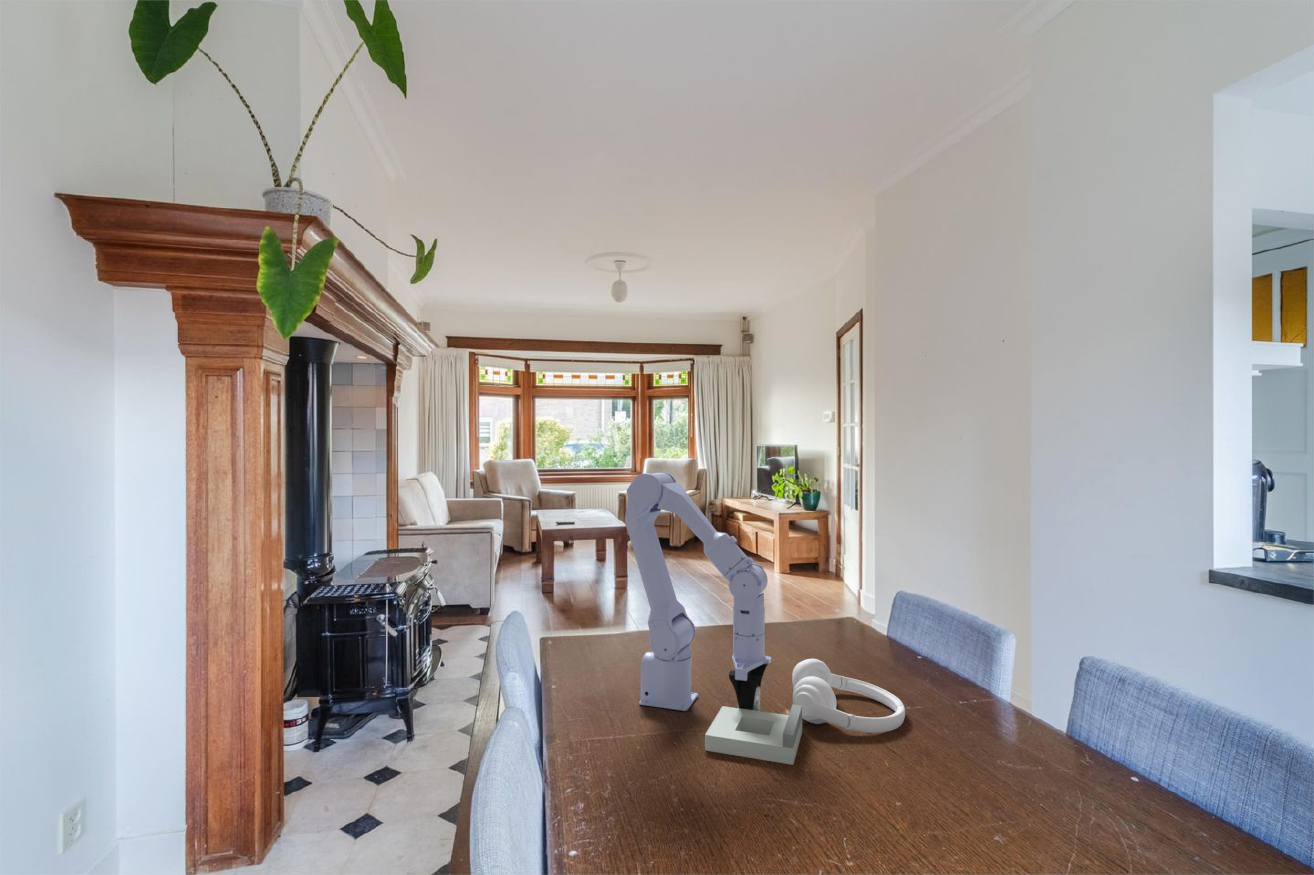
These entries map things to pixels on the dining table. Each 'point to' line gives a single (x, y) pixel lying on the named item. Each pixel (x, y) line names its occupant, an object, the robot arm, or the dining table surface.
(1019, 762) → the dining table surface
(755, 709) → the peg
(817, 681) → the headphones
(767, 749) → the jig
